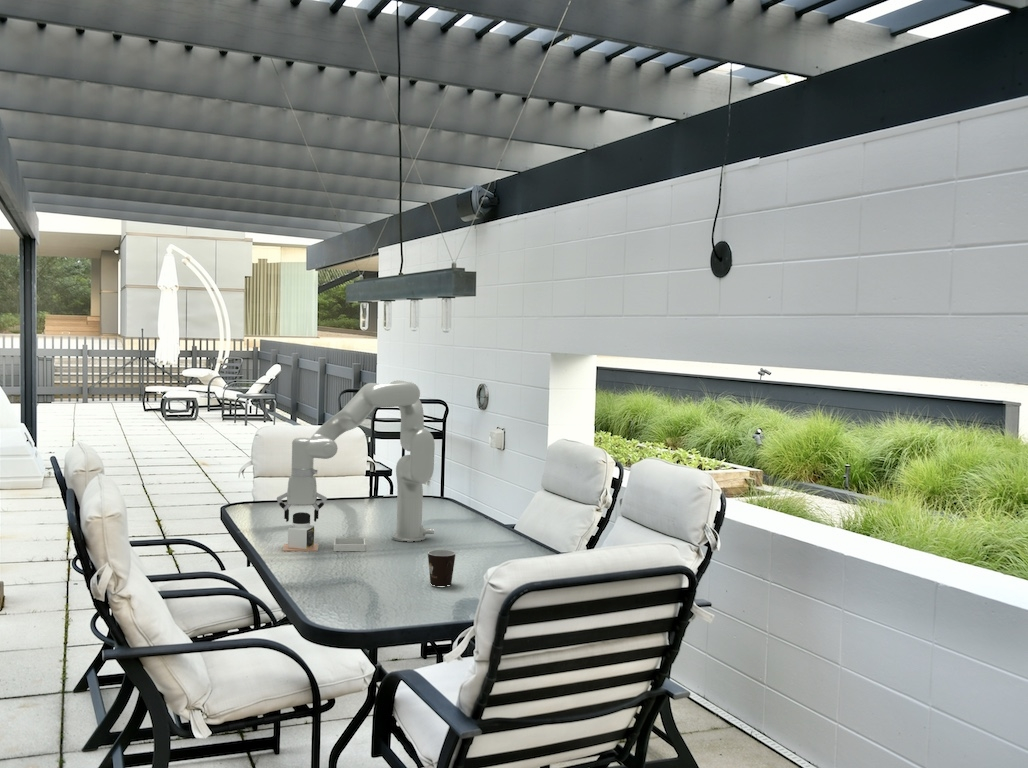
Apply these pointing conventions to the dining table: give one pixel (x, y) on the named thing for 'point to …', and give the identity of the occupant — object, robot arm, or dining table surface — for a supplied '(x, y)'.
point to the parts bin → (349, 544)
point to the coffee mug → (441, 567)
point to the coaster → (312, 548)
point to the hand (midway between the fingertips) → (301, 520)
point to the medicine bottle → (301, 532)
